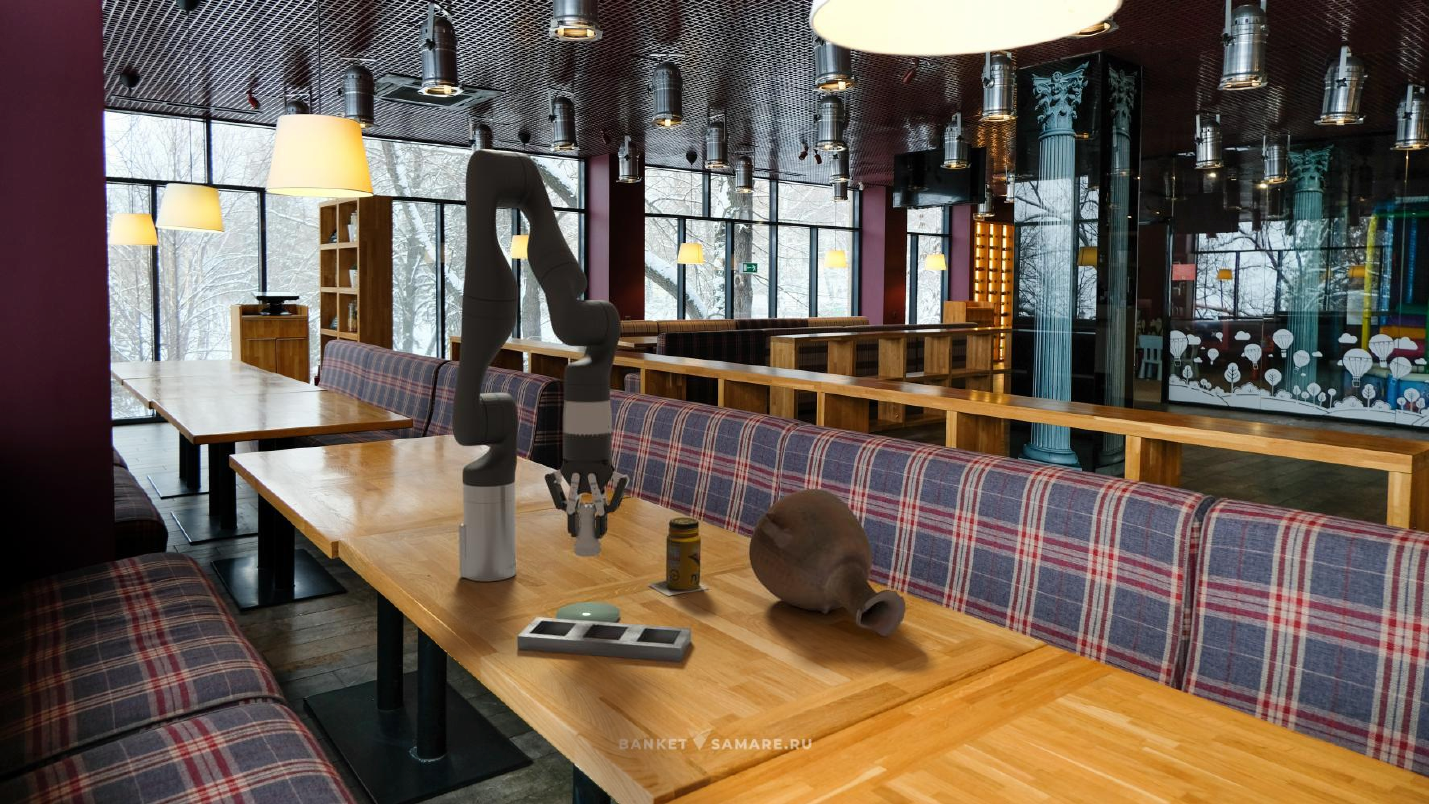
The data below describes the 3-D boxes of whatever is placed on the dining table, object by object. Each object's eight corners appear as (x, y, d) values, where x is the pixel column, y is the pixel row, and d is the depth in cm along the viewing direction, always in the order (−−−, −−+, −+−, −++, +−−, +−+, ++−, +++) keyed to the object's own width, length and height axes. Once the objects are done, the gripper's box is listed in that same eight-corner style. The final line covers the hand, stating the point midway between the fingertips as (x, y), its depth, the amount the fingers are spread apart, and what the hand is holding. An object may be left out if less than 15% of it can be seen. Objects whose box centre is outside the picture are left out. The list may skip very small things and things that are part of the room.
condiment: (709, 589, 163) (710, 522, 162) (668, 596, 159) (668, 528, 157) (687, 578, 169) (688, 513, 168) (647, 585, 165) (647, 519, 163)
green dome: (547, 625, 144) (547, 620, 144) (567, 604, 154) (567, 600, 154) (610, 630, 143) (610, 625, 142) (626, 608, 152) (626, 604, 152)
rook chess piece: (574, 549, 149) (574, 500, 148) (602, 549, 149) (602, 500, 148) (572, 557, 145) (572, 506, 144) (601, 556, 145) (601, 506, 144)
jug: (736, 590, 163) (829, 682, 137) (725, 489, 156) (821, 566, 130) (834, 556, 170) (939, 637, 145) (828, 458, 163) (938, 525, 138)
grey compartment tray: (517, 649, 134) (517, 635, 134) (536, 629, 142) (536, 617, 142) (680, 661, 131) (680, 648, 130) (691, 641, 138) (691, 628, 138)
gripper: (535, 430, 142) (536, 540, 144) (625, 433, 140) (625, 545, 142) (551, 424, 150) (552, 528, 152) (637, 427, 147) (637, 533, 149)
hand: (587, 536), depth 147 cm, fingers closed on rook chess piece, 3 cm apart
